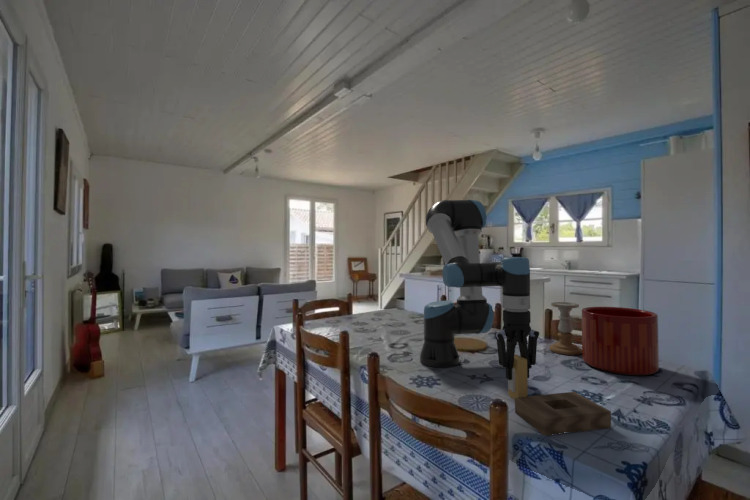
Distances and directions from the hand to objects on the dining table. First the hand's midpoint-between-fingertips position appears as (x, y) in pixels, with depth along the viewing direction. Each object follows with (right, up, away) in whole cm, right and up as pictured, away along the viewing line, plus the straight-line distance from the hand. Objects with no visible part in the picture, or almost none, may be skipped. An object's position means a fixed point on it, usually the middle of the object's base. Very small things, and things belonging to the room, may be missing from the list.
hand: (517, 389), depth 102 cm
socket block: (+6, -2, -13) cm, 15 cm away
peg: (0, -3, 0) cm, 3 cm away
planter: (+48, -2, +26) cm, 55 cm away
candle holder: (+39, -2, +46) cm, 61 cm away
